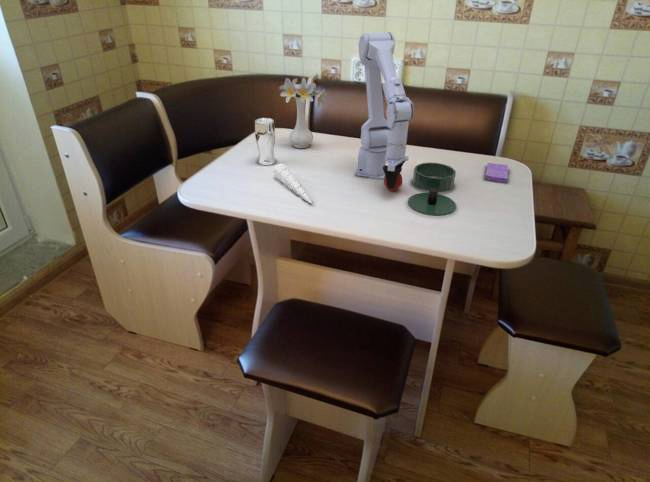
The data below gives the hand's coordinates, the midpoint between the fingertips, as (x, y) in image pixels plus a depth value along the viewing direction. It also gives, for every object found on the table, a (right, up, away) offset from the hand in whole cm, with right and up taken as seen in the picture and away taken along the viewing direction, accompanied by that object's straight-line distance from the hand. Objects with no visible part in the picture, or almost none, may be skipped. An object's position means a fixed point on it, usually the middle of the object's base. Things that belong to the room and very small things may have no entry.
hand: (392, 183), depth 142 cm
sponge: (+38, +5, +14) cm, 40 cm away
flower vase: (-30, +19, +35) cm, 50 cm away
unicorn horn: (-31, -2, +2) cm, 31 cm away
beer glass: (-42, +10, +21) cm, 48 cm away
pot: (+14, 0, +6) cm, 15 cm away
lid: (+11, -7, -7) cm, 15 cm away
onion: (0, -2, +2) cm, 3 cm away
